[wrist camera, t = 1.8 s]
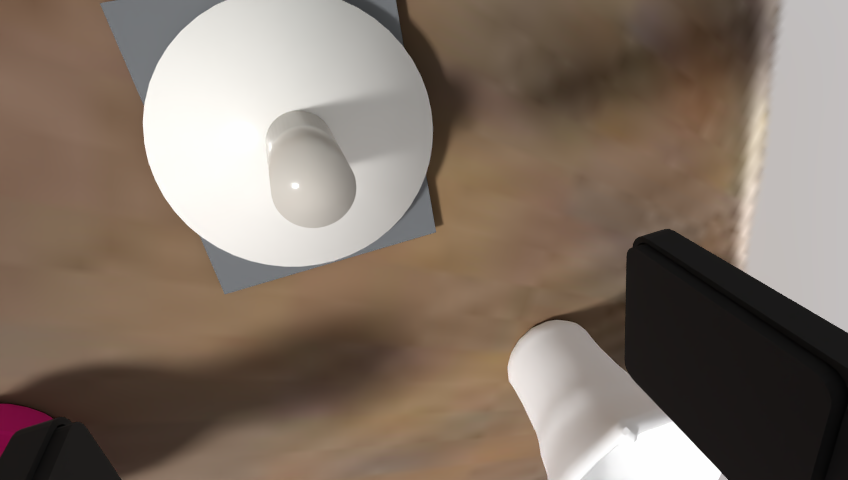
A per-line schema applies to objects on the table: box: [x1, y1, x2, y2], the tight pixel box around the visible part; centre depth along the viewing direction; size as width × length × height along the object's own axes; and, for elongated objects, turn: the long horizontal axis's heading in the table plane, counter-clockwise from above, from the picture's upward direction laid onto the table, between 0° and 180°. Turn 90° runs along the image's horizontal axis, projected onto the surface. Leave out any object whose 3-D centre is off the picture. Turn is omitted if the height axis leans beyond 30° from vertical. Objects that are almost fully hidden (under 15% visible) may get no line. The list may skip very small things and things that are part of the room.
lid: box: [143, 0, 433, 267], centre depth 19 cm, size 11×11×6 cm
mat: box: [100, 0, 436, 294], centre depth 21 cm, size 12×10×1 cm
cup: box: [508, 320, 721, 480], centre depth 27 cm, size 9×9×10 cm
